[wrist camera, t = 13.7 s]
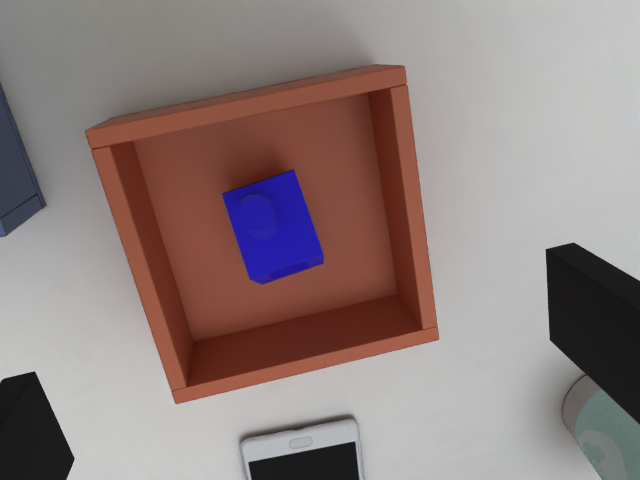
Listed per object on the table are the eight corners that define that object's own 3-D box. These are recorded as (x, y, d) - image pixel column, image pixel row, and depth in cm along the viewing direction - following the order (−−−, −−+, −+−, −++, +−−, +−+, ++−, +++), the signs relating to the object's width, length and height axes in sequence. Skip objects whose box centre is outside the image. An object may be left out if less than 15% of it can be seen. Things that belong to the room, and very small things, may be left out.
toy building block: (299, 193, 30) (290, 151, 22) (323, 264, 30) (323, 246, 22) (238, 213, 30) (208, 178, 22) (262, 285, 30) (239, 275, 22)
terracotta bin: (110, 118, 27) (83, 130, 22) (376, 64, 28) (405, 65, 23) (184, 352, 31) (175, 404, 26) (410, 298, 32) (439, 340, 27)
